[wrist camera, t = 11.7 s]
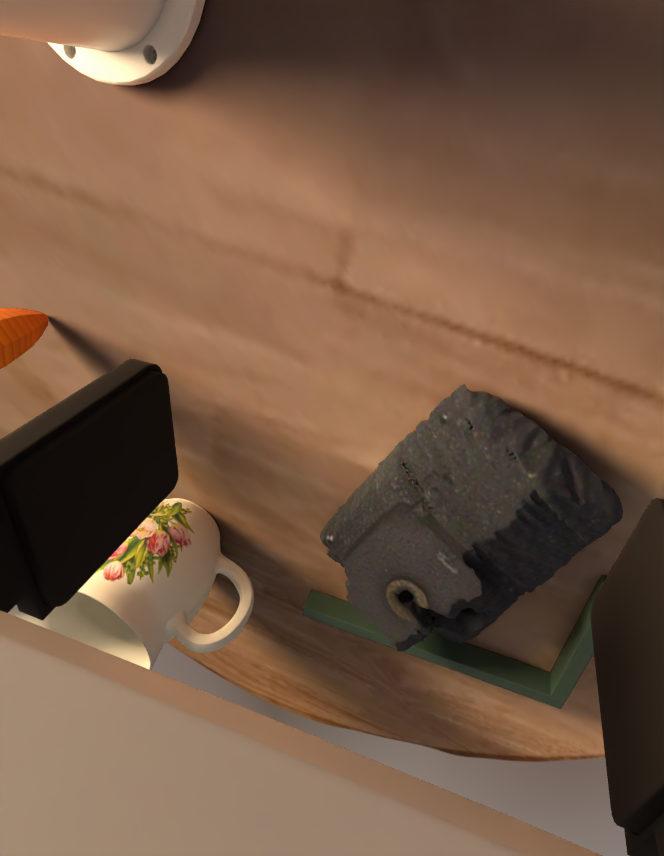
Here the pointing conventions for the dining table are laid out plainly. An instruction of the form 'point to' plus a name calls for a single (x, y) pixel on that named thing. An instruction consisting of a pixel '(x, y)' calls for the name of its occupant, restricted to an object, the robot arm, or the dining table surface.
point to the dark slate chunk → (464, 521)
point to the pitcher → (154, 589)
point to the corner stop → (477, 651)
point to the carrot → (19, 332)
